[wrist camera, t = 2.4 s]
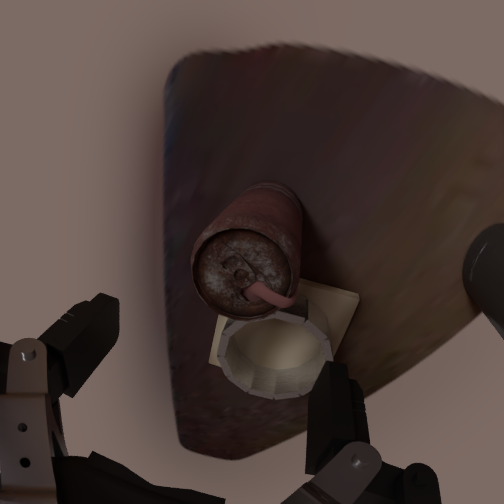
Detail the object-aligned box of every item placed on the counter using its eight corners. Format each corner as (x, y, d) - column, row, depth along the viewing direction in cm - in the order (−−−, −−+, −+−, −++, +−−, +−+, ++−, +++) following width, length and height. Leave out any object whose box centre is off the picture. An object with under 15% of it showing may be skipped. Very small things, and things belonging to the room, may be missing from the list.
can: (291, 254, 31) (279, 343, 18) (228, 230, 31) (174, 303, 18) (315, 195, 28) (323, 250, 16) (248, 170, 29) (201, 204, 16)
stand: (358, 293, 31) (359, 299, 30) (316, 384, 36) (316, 390, 35) (232, 259, 32) (229, 264, 31) (211, 356, 37) (208, 363, 36)
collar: (345, 306, 31) (349, 329, 27) (310, 382, 35) (309, 407, 31) (238, 277, 31) (229, 297, 27) (219, 359, 35) (210, 382, 32)
